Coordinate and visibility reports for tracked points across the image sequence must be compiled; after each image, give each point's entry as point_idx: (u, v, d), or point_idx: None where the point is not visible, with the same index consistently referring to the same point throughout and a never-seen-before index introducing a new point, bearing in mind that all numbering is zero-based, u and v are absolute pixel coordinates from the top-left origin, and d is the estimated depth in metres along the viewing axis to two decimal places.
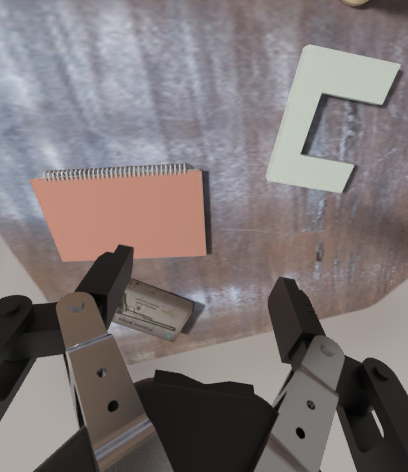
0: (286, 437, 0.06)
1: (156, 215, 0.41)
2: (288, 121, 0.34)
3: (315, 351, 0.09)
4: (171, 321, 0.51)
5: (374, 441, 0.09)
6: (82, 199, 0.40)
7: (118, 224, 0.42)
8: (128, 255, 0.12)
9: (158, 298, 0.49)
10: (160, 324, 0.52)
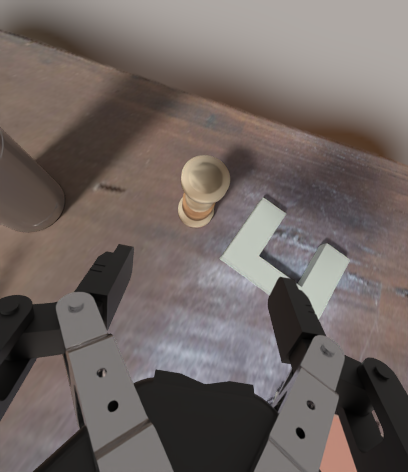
0: (286, 437, 0.06)
1: None
2: (269, 289, 0.36)
3: (315, 351, 0.09)
4: None
5: (374, 441, 0.09)
6: None
7: None
8: (128, 255, 0.12)
9: None
10: None
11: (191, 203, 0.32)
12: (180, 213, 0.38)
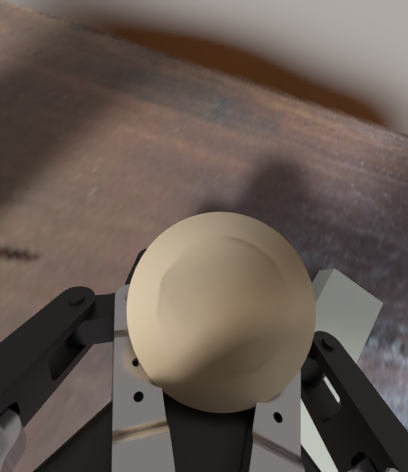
0: (267, 427, 0.06)
1: None
2: None
3: None
4: None
5: (330, 405, 0.10)
6: None
7: None
8: None
9: None
10: None
11: None
12: None
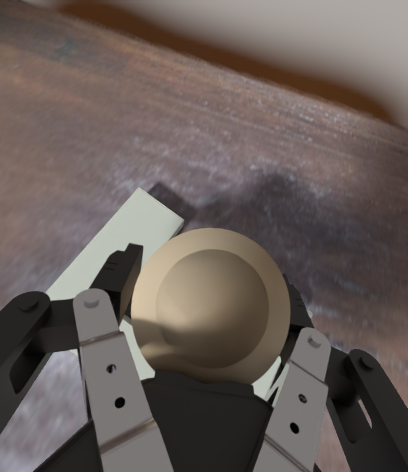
0: (281, 434, 0.06)
1: None
2: None
3: (303, 344, 0.09)
4: None
5: (362, 430, 0.09)
6: None
7: None
8: (138, 253, 0.12)
9: None
10: None
11: None
12: None
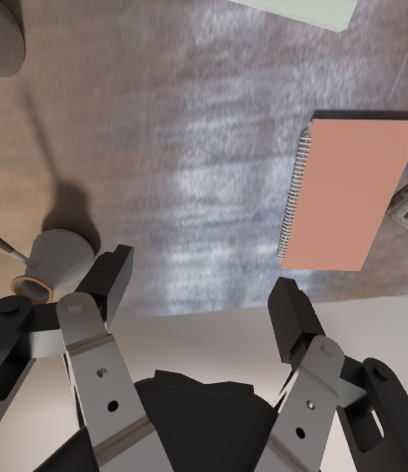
0: (286, 437, 0.06)
1: (346, 175, 0.39)
2: (279, 6, 0.28)
3: (315, 351, 0.09)
4: None
5: (374, 441, 0.09)
6: (307, 237, 0.45)
7: (341, 214, 0.43)
8: (128, 255, 0.12)
9: None
10: None
11: None
12: None
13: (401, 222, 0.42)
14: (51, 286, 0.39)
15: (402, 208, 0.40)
